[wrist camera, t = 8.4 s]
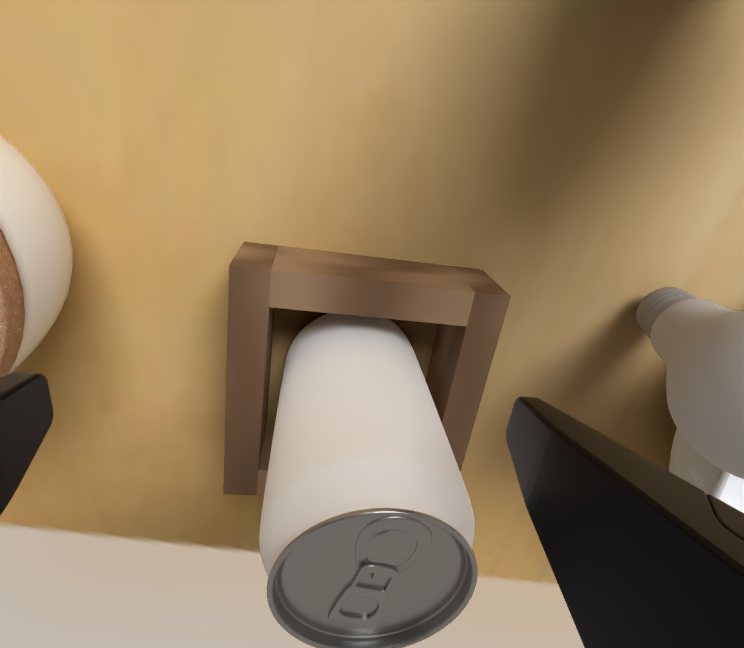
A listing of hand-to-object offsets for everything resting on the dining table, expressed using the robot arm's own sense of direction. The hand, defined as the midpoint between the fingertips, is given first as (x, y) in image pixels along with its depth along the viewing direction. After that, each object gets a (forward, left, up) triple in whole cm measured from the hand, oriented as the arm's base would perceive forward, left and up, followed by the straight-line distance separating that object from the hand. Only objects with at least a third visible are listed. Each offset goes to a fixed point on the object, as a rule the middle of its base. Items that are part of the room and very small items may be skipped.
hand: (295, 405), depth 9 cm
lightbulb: (-18, +1, -13) cm, 22 cm away
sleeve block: (-3, +6, -13) cm, 14 cm away
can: (-3, +6, -13) cm, 14 cm away
